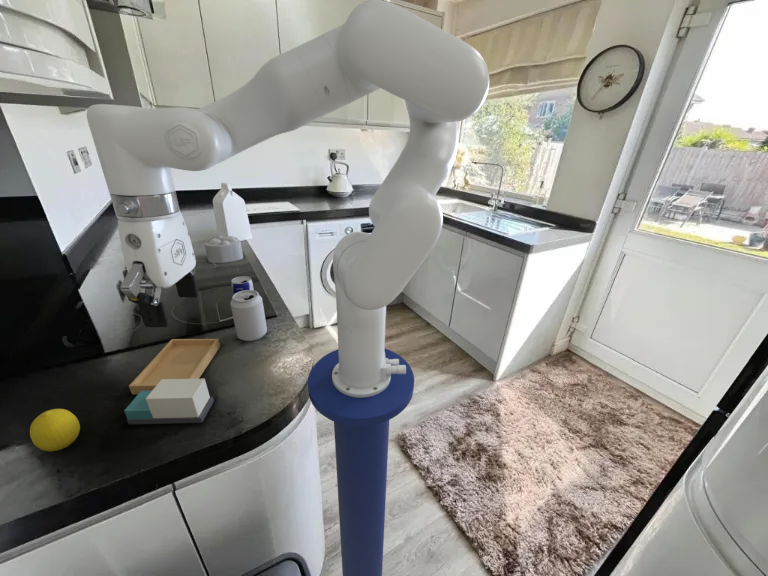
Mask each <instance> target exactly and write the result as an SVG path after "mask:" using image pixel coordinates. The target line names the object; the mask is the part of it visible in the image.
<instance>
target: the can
mask: <svg viewBox="0 0 768 576" xmlns="http://www.w3.org/2000/svg"><path fill="white" fill-rule="evenodd" d="M263 301H264V300H263V298H262V296H261V295H260V293H259V292H258V291H257V290H244V291H240V292H237V293H235V294H234V295H233V294H232V296H231V301H230V302H229V304H230V309H231V313H232V318H233V323H234V328H235V333H236V337H237V338H238V339H239V340H242V341H244V342H254V341H257V340H260V339H261V338H263V337H264V336H265V335H266V334H267V332H268V329H267V328H268V327H267V321H266V314H265V308H264V302H263Z"/></svg>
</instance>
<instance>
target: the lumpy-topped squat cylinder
mask: <svg viewBox="0 0 768 576" xmlns="http://www.w3.org/2000/svg"><path fill="white" fill-rule="evenodd" d="M204 249H205V254H206V258H207V261H208V262H209V263H211V264H225V263H232V262H237V261H240V260H243V259H244V254H243V247H242V242H241V241H239V240H238V238H236V237H233V236H228V237H224V236H218V235H217V237H213V238H210V239H209V241H207V242H205V243H204Z"/></svg>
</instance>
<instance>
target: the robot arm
mask: <svg viewBox="0 0 768 576" xmlns="http://www.w3.org/2000/svg"><path fill="white" fill-rule="evenodd" d="M379 89H381V90H383V91H386V92H387V93H390V94H391V95H393V96H395V97H397V98H399V99H402V100H404V104H405V108H406V110H407V111H406V112H407V114H408V118H409V134H408V138H407V141H406V143H405V144H404V145H405V146H404V147H403V149H402V150H401V152H400V154H399V156H398V158H397V160H396V161H395V162H394V164H393V166H392V167H391V169H390V171H389V172H388V173H387V175H386V176H385V178H384V180H383V181H382V183H381V184H380V186H379V187H378V189H377V190H376V191H375V193H374V194H373V196H372V197H371V200H370V202H369V205H368V216H369V219H370V221H371V224H372V225H373V227H374V228H373V229H372V231H371V232H370V233H368V232H363V231H353V232H350V233H347V234H346V235H344V236H343V237H342V238H341V239H340V240H339V241H338V242H337V244H336V246H335V248H334V251H333V255H332V270H333V271H332V272H333V278H334V290H335V303H336V304H335V305H336V326H337V327H336V329H337V349H338V353H339V363H338V364H337V365H336V366H335V367H334V369H333V372H332V381H333V384H334V386H335V387H336V389H337V390H338V391H340V392H341V393H343V394H345V395H347V396H351V397H357V398H364V397H370V396H374V395H376V394H379V393H380V392H382V391H383V390H384V389H386V388H387V386H388V385H389V383H390V380H391V374H406V365H399V359H388V358H385V352H384V349H386V348H385V347H386V345H385V344H386V320H387V319H386V317H387V306H388V305H389V304H391V303H392V302H394V300H395V299H396V298H397V297H398V296H399V295H400V294H401V293H402V291H403V290H404V289H405V287H406V286H407V285H408V283H409V282H410V281H411V280H412V278H413V277H414V275H416V273H417V271H418V270H419V268H420V267H421V265H422V264H423V263H424V261H425V260H426V259H427V257H428V256H429V254H430V253H431V252H432V250H433V249H434V247H435V245H436V244H437V242H438V241H439V238H440V235H441V232H442V230H443V224H444V215H443V210H442V207H441V204H440V202H439V201H438V200H437V198H436V197H435V196H436V195H437V193H438V192H439V190H440V189H441V187H442V186H443V183H444V182H445V180H446V178H447V177H448V175H449V174H450V172H451V171H452V168H453V166H454V163H455V161H456V158H457V152H458V147H459V127H458V122H462V121H465V120H467V119H469V118H470V117H472V116H473V115H475V114H476V113H477V112H478V111H479V110H480V108H481V107H482V106H483V104H484V102H485V100H486V98H487V96H488V93H489V89H490V73H489V69H488V65H487V63H486V60H485V59H484V57H483V56H482V54H481V53H480V52H479V51H478V50H477V49H476V48H475V47H474V46H472V45H471V44H469V43H467V42H466V41H464V40H463V39H460V38H459V37H457V36H455V35H453V34H452V33H450V32H448V31H445V30H444V29H442V28H441V27H438V26H437V25H435V24H433V23H432V22H430V21H428V20H426V19H424V18H422V17H421V16H419V15H417V14H416V13H414V12H411V10H407V9H406V8H404V7H402V6H400V5H398V4H395V3H392V2H390V1H387V0H364V1H363V2H361V3H360V4H358V5H357V6H355V7H354V9H353V10H352V11H351V12H350V13H349V15H348V16H347V19H346V20H345V22H344V23H343V24H341V25H339V26H337V27H335V28H332V29H331V30H328V31H326V32H324V33H322V34H321V35H318V36H316V37H315V38H312V39H310V40H308V41H306V42H304V43H302V44H300V45H298V46H296V47H293V48H291V49H289V50H286V51H285V52H282V53H279V54H278V55H276V56H273V57H272V58H270V59H269V60H268V61H267V62H266V63H264V64H263V65H262V66H261V67H260V68H259V69H258V71H257V72H255V74H254V75H253V77H252V78H251V79H250V80H248V81H247V82H246V83H244V85H242V86H241V87H240V88H238V89H236V90H234V91H233V92H231V93H229V94H227V95H226V96H223V97H222V98H220V99H217V100H214V101H213V102H211V103H209V104H207V105H205V106H203V107H200V108H191V107H184V106H182V107H180V106H177V107H163V108H162V107H161V108H147V107H142V106H133V105H125V104H124V105H123V104H108V103H107V104H106V103H98V104H93V105H90V106H88V107H87V110H86V119H87V124H88V127H89V130H90V134H91V137H92V140H93V144H94V148H95V150H96V153H97V158H98V160H99V164H100V167H101V170H102V173H103V176H104V179H105V184H106V186H107V189H108V193H109V196H110V200H111V204H112V206H113V209H114V213H115V216H116V219H117V224H118V225H117V227H118V234H119V242H120V247H121V252H122V256H123V260H124V264H125V267H126V271H127V274H126V276H125V278H124V279H123V281H122V283H121V284H120V287H119V289H120V291H121V292H122V294H124V295H125V297H127V299H128V302H131V303H133V305H134V306H138V309H139V312H140V315H141V319H142V322H143V325H144V327H146V328H167V327H168V326H169V324H170V323H169V320H168V315H167V311H166V309H165V305H164V302H163V301H162V302H161V301H160V299H161V295H162V290H163V289H169V288H171V287H172V286H173V285H175V287H176V291H177V296H178V297H179V298H193V299H194V298H198V296H199V290H198V285H197V282H196V277H195V274H196V269H195V267H196V265H197V260H196V255H195V252H194V245H193V244H192V240H191V237H190V233H189V230H188V227H187V225H186V221H185V219H184V216H183V214H182V212H181V209H180V206H179V201H178V197H177V192H176V188H175V183H174V178H173V174H172V169H174V170H175V169H176V170H181V171H188V172H200V171H205V170H208V169H210V168H213V167H215V166H216V165H217V164H220V163H223V162H224V161H227V160H228V159H230V158H232V157H234V156H236V155H238V154H240V153H242V152H244V151H246V150H248V149H250V148H252V147H254V146H256V145H258V144H260V143H262V142H265V141H267V140H269V139H271V138H274V137H276V136H279V135H281V134H286V133H290V132H293V131H296V130H298V129H301V128H302V127H304V126H306V125H308V124H311V123H313V122H315V121H316V120H319V119H320V118H323V117H325V116H327V115H328V114H331V113H333V112H335V111H337V110H339V109H341V108H343V107H345V106H347V105H350V104H351V103H354V102H355V101H358V100H359V99H362V98H364V97H365V96H367V95H370V94H371V93H372V94H373V93H374V92H375V91H376V92H377V91H378V90H379ZM147 289H148V290H151V295H150V294H147V293H146V290H147ZM391 365H397V366H391Z"/></svg>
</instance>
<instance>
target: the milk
mask: <svg viewBox="0 0 768 576" xmlns="http://www.w3.org/2000/svg"><path fill="white" fill-rule="evenodd" d="M245 201H246V200H244V198H242V197H241V196H240V195H239V194H237V193H236V192H235V191H233V189H232V186H231V183H227V182H221V183H220V190H218V192H217V193H216V194H215V195H214V197H213V198H212V206H213V213H214V219H215V225H216V226H215V227H216V232H217V237H218V236H224V237H228V236H233V237H236V238H238V240H239V241H240V242H241V241H247V240H252V239H253V234H252V229H251V225H250V220H249V216H248V211H247V206H246V202H245Z"/></svg>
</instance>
